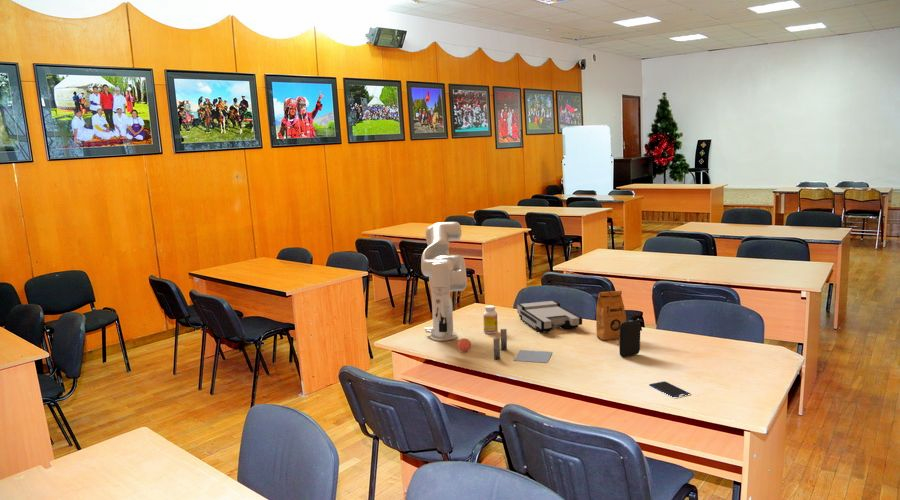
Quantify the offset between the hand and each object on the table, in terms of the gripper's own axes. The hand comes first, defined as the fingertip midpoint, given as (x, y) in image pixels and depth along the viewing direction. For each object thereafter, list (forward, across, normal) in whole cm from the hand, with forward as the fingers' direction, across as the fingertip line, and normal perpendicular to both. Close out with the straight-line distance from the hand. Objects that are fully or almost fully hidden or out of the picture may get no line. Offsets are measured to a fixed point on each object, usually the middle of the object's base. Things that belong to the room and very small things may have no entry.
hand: (443, 331), depth 265 cm
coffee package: (+9, +33, -69) cm, 77 cm away
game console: (+8, +50, -38) cm, 64 cm away
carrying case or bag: (+10, +10, -78) cm, 79 cm away
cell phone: (+11, -25, -92) cm, 96 cm away
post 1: (+9, -5, -25) cm, 27 cm away
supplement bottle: (+8, +32, -13) cm, 36 cm away
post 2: (+9, +8, -25) cm, 28 cm away
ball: (+6, +1, -9) cm, 11 cm away
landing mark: (+9, +1, -39) cm, 40 cm away
